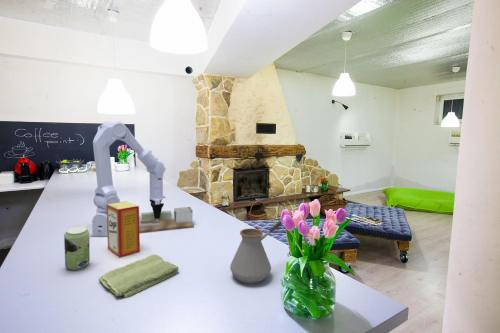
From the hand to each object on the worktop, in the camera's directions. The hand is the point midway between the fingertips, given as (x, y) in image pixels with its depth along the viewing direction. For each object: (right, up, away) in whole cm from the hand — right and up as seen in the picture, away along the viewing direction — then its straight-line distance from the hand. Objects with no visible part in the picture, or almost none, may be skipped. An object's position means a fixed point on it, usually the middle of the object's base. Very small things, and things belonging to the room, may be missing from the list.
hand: (156, 216), depth 125 cm
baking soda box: (+1, -5, -35) cm, 35 cm away
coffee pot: (+48, -8, -47) cm, 67 cm away
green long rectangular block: (0, -2, 0) cm, 2 cm away
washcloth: (+14, -8, -52) cm, 54 cm away
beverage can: (-6, -6, -47) cm, 48 cm away
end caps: (+7, -2, -9) cm, 11 cm away
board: (+7, -3, -9) cm, 12 cm away
